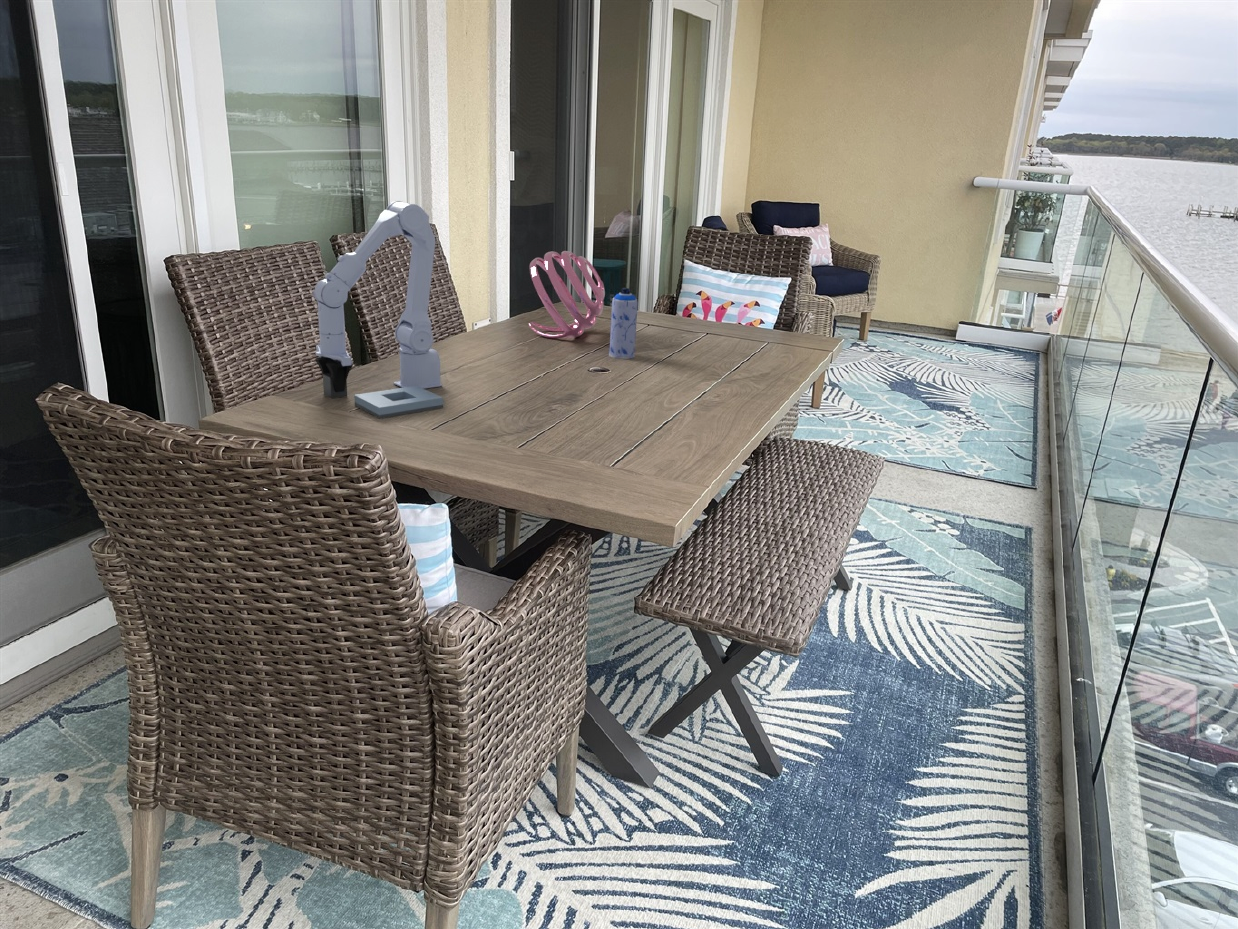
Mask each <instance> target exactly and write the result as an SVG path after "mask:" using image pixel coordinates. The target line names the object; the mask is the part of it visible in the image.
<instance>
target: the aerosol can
mask: <svg viewBox="0 0 1238 929" xmlns="http://www.w3.org/2000/svg"><path fill="white" fill-rule="evenodd" d="M630 291H631V290H630V288H627V287H622V288H621V292H619V293H616V295H615V296H613V298H612V302H611V319H610V334H609V336H610V338H609V352H608V356H609V357H611V358H614V359H619V360H620V359H622V360H629V359H635V357H636V354H635V351H636V349H635V348H636V335H637V334H636V333H637V321H638V320H637V318H638V317H637V316H638V302H639V301H638V299H637V298H636V295H634V294H633V293H631V292H630Z"/></svg>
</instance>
